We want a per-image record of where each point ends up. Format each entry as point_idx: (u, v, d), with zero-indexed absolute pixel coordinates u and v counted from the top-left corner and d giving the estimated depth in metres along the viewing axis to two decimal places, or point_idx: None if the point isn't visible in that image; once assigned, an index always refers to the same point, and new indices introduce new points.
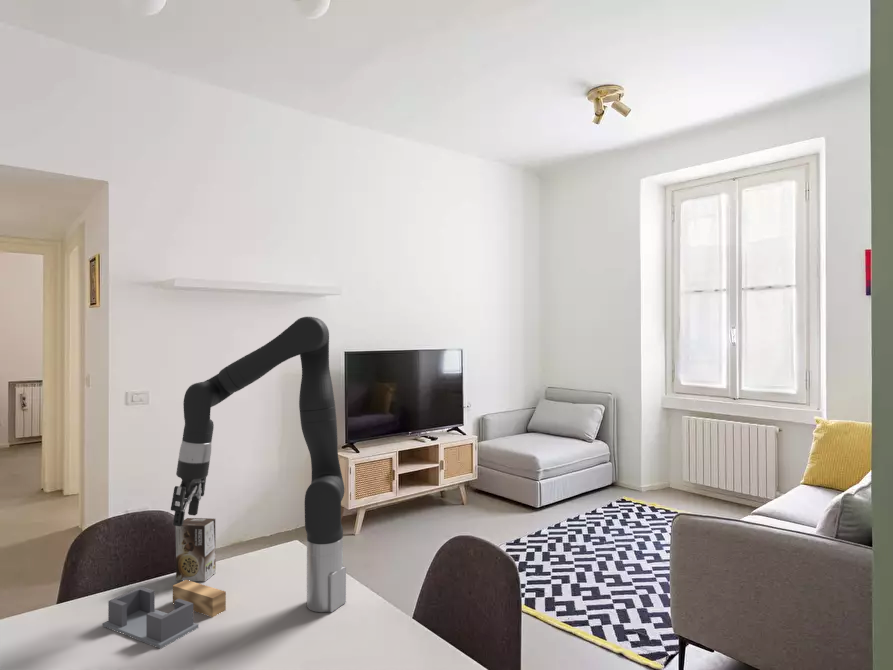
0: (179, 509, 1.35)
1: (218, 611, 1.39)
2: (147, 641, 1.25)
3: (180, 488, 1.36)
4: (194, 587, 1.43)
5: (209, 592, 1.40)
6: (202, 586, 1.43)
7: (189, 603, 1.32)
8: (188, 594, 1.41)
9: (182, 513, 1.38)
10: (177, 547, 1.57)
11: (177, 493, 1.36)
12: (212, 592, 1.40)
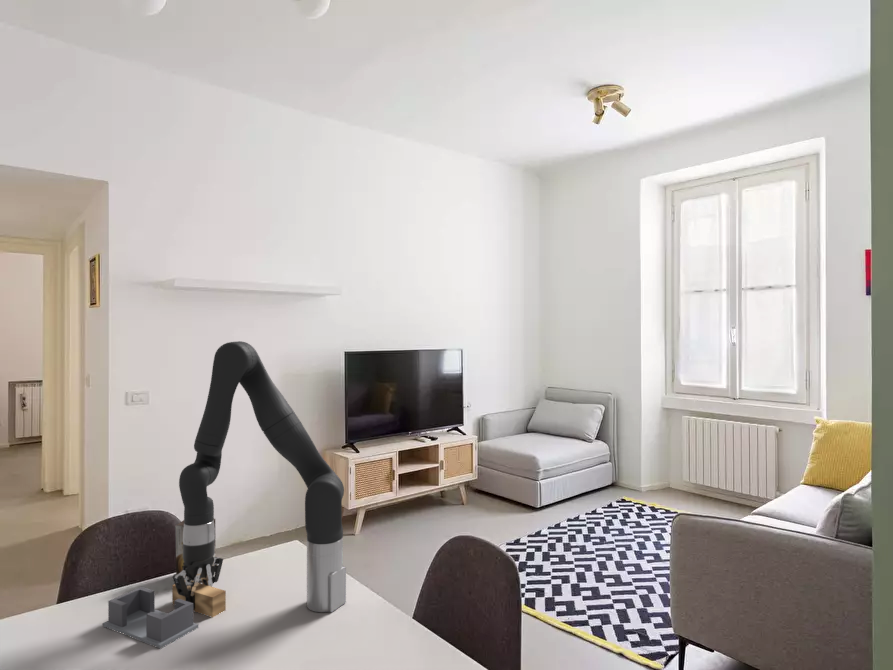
0: (183, 594, 1.37)
1: (218, 610, 1.38)
2: (147, 641, 1.25)
3: (176, 578, 1.36)
4: None
5: (209, 591, 1.40)
6: (202, 586, 1.43)
7: (189, 603, 1.32)
8: None
9: (191, 597, 1.39)
10: (177, 547, 1.57)
11: (176, 582, 1.37)
12: (212, 591, 1.40)
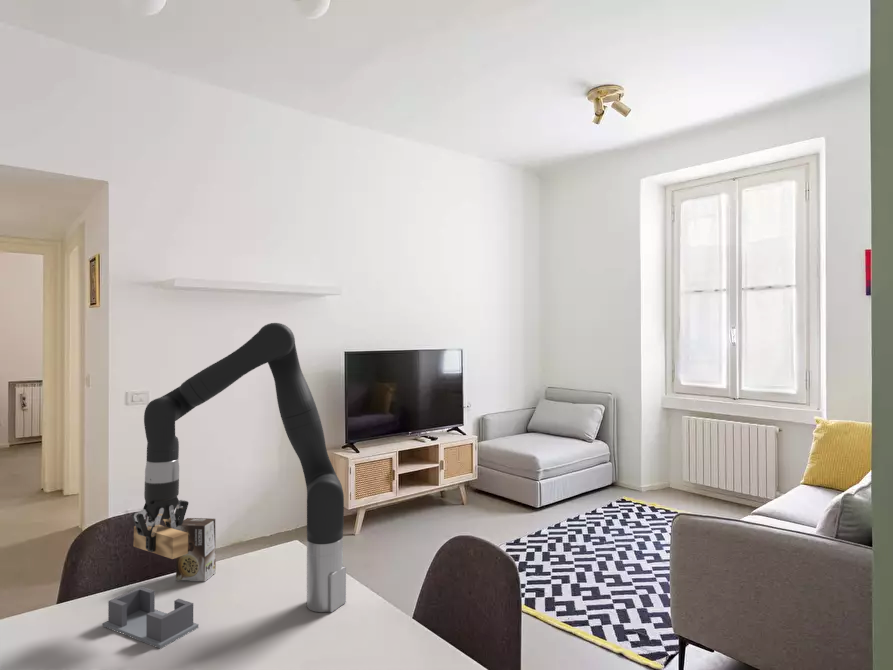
0: (143, 534, 1.30)
1: (179, 552, 1.31)
2: (147, 641, 1.25)
3: (135, 516, 1.29)
4: None
5: (171, 533, 1.33)
6: (165, 528, 1.36)
7: (189, 603, 1.32)
8: None
9: (152, 538, 1.32)
10: None
11: (135, 520, 1.30)
12: (174, 533, 1.33)
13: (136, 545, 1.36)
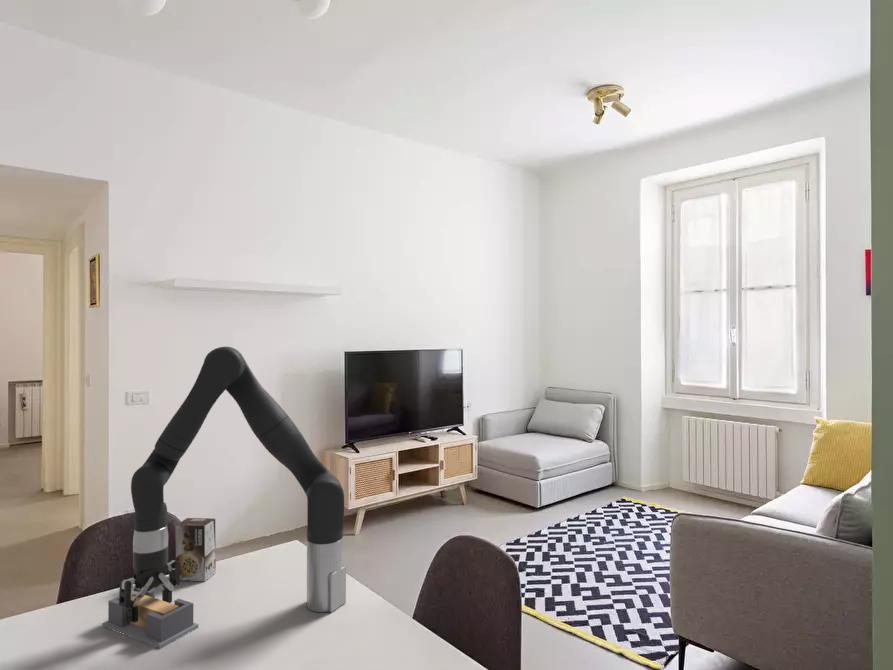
0: (124, 605, 1.26)
1: None
2: (147, 641, 1.25)
3: (124, 582, 1.26)
4: (145, 601, 1.33)
5: (161, 607, 1.30)
6: (155, 600, 1.33)
7: (189, 603, 1.32)
8: (139, 609, 1.31)
9: (134, 608, 1.28)
10: (177, 547, 1.57)
11: (122, 587, 1.26)
12: (164, 607, 1.30)
13: None
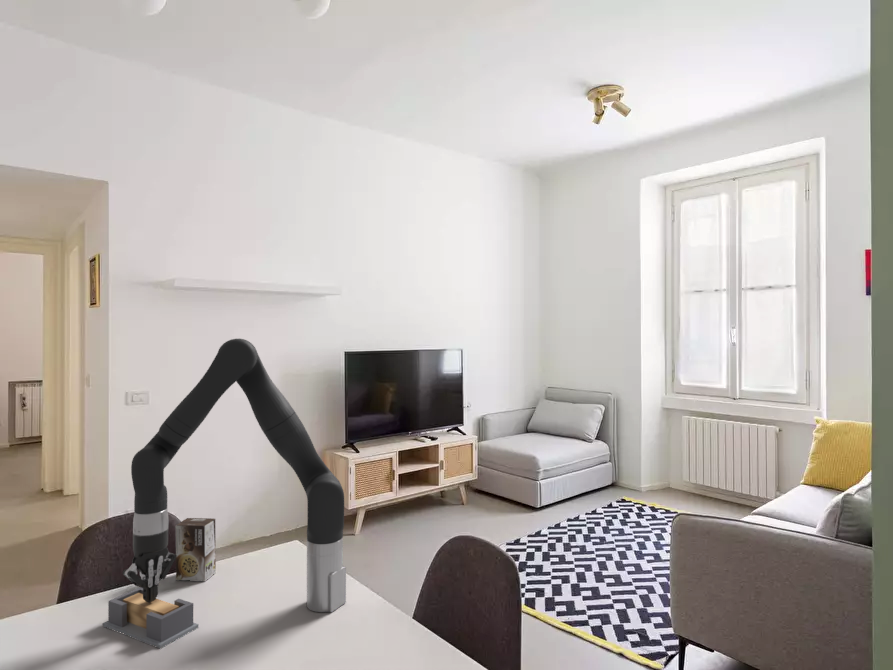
0: (140, 585, 1.29)
1: None
2: (147, 641, 1.25)
3: (126, 574, 1.27)
4: (145, 601, 1.33)
5: (161, 607, 1.30)
6: (155, 600, 1.33)
7: (189, 603, 1.32)
8: (139, 609, 1.31)
9: (149, 589, 1.31)
10: (177, 547, 1.57)
11: (128, 577, 1.28)
12: (164, 607, 1.30)
13: None
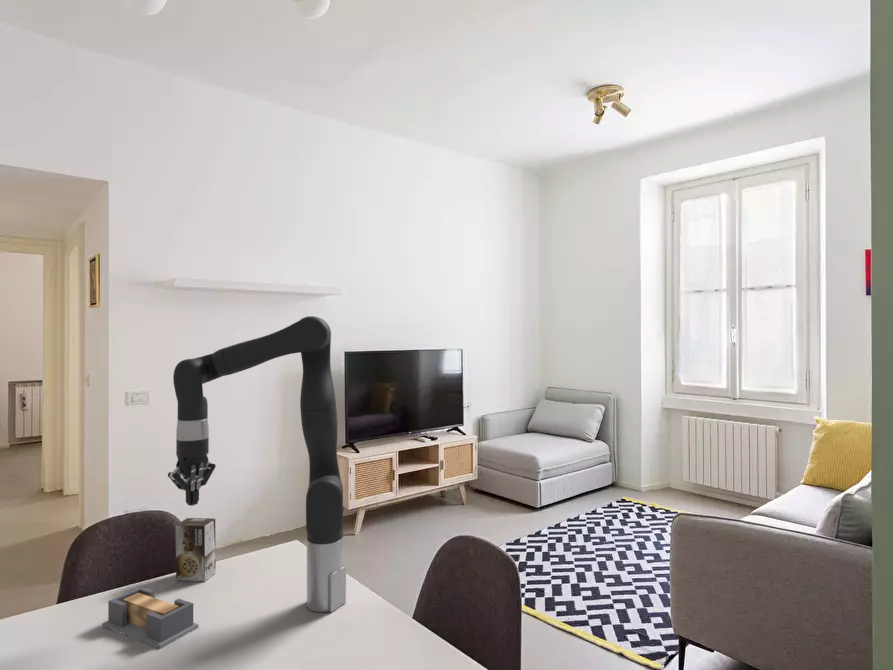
0: (184, 488, 1.37)
1: None
2: (147, 641, 1.25)
3: (171, 475, 1.35)
4: (145, 601, 1.33)
5: (161, 607, 1.30)
6: (155, 600, 1.33)
7: (189, 603, 1.32)
8: (139, 609, 1.31)
9: (191, 492, 1.39)
10: (177, 547, 1.57)
11: (173, 479, 1.36)
12: (164, 607, 1.30)
13: None
